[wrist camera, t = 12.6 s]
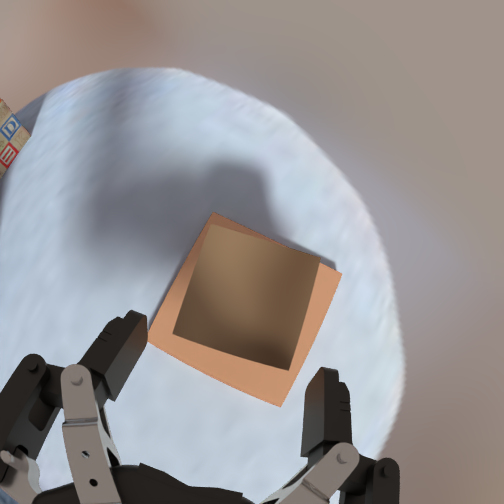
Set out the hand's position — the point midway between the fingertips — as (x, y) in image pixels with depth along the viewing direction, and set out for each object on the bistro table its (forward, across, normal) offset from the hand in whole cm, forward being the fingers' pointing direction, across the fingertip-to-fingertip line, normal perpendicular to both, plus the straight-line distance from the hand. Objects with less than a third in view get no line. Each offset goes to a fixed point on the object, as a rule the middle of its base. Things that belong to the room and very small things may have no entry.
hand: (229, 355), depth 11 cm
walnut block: (+8, 0, +4) cm, 9 cm away
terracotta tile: (+9, 0, +5) cm, 11 cm away
